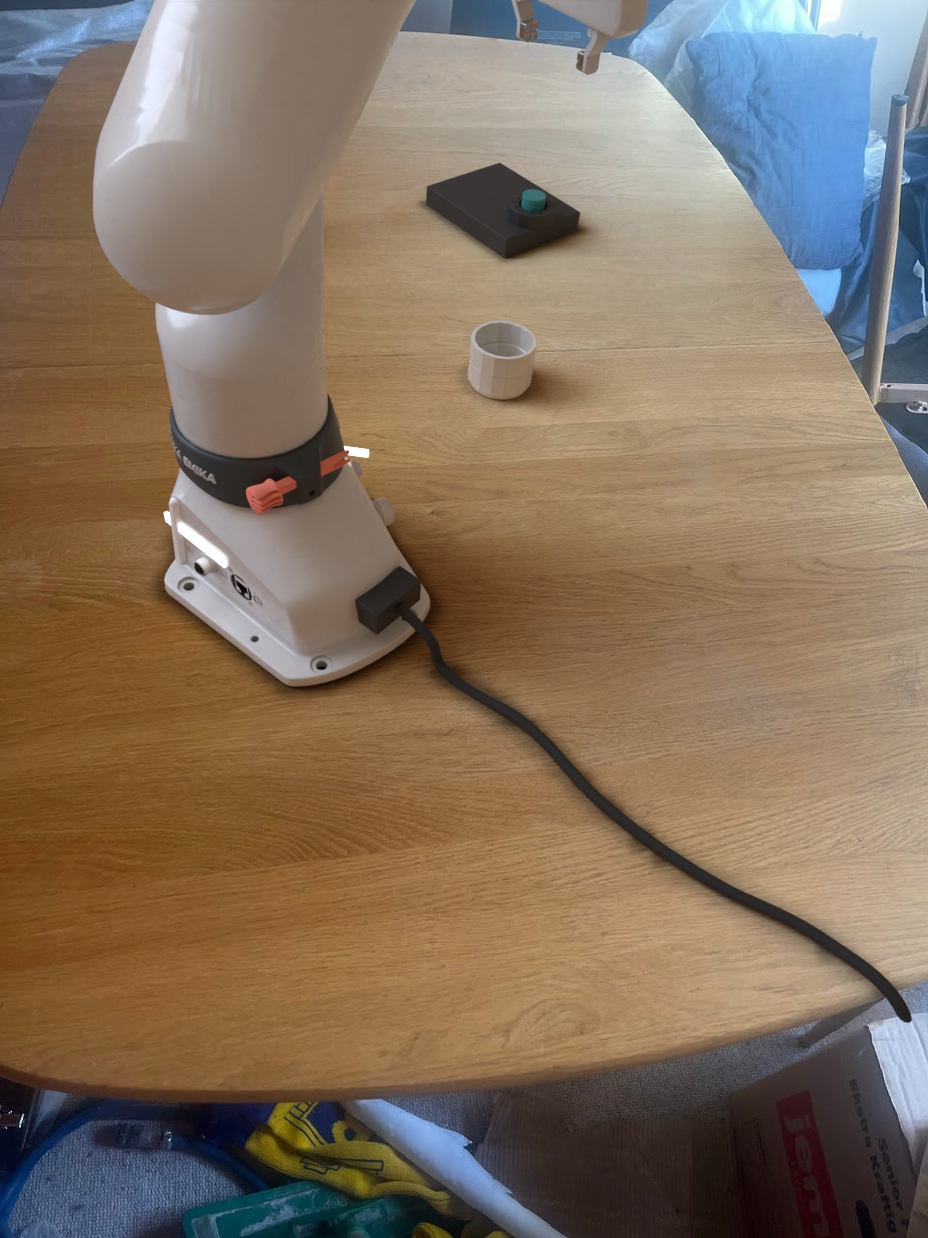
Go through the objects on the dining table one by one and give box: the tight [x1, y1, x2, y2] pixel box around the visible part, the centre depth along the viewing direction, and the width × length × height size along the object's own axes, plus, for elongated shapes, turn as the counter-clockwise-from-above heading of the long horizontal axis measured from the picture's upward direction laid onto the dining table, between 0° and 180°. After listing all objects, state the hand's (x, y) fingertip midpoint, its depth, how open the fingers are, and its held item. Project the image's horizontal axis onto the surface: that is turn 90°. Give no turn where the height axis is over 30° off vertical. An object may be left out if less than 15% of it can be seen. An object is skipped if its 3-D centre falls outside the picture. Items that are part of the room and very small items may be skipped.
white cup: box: [467, 319, 538, 401], centre depth 96 cm, size 6×6×5 cm
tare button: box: [521, 189, 546, 212], centre depth 113 cm, size 3×3×2 cm
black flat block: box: [425, 162, 581, 259], centre depth 117 cm, size 16×12×4 cm
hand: (555, 54), depth 100 cm, fingers open, 8 cm apart
